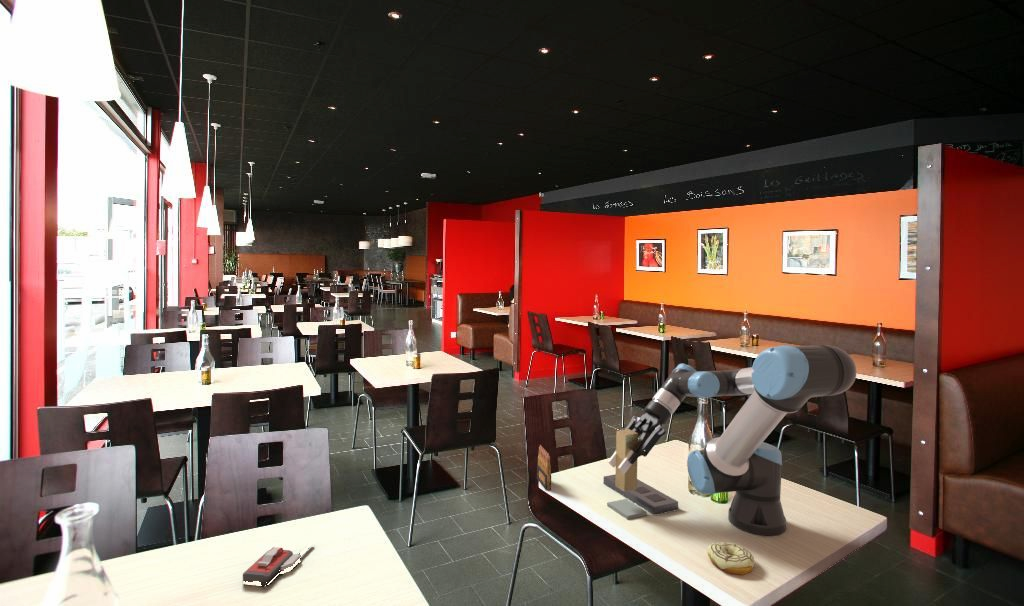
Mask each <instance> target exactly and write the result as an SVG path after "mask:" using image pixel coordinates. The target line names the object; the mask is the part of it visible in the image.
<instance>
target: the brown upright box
mask: <svg viewBox="0 0 1024 606" xmlns="http://www.w3.org/2000/svg"><path fill="white" fill-rule="evenodd" d="M551 467H552V466H551V456H550V453H549V452H548V451H546V449H545V448H544V447H543V446H542V444H539V447H538V457H537V466H536V479H537V481H538V483H540V485H541V486H542V487H543V488H544V490H545V491H551V490H552V473H551Z"/></svg>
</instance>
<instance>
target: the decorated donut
mask: <svg viewBox="0 0 1024 606" xmlns="http://www.w3.org/2000/svg"><path fill="white" fill-rule="evenodd" d="M707 556H708V558H709V560H710V562H711V564H712V565H713V566H715V567H717V569H720V570H722V571H724V572H725V573H727V572H728V573H729V574H733V575H740V576H741V575H742V576H744V575H747V574H749V573H750V572H752V571H753V568H754V566H755V558H754V555H753V553H752V552H751V551H750V550H749V549H747V548H745V547H744V546H742V545H740V544H738V543H734V542H728V541H719V542H712V543H711V544H709V546H708V549H707ZM728 573H727V574H728Z"/></svg>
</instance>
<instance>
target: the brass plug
mask: <svg viewBox="0 0 1024 606" xmlns="http://www.w3.org/2000/svg"><path fill="white" fill-rule="evenodd" d="M615 437H616V440H615V445H616V446H615V450H616V466H615V474H616V477H615V486H616V487H617V488H619V489H621V490H622V491H624V492H626V491H630V490H635V489H637V479H638V459H637V460H636V461H635V463H634V464H632V465H631V466H630V467H629V469H628V470H627V472H626V473H625V474H624V473H623V472H622V471H621V470H620V469H619V468H618V467H619V466H620V464H621V463H622V462H623V460H624V459H625V458H626V456H627V455H628V454H629V452H630V451H631V450H632V451H633V448H635V447H636V445H637V443H638V441H639V437H638V433H636V432H634V431H632V430H630V429H626V430H625V429H621V430H616V436H615ZM633 452H634V451H633Z"/></svg>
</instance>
